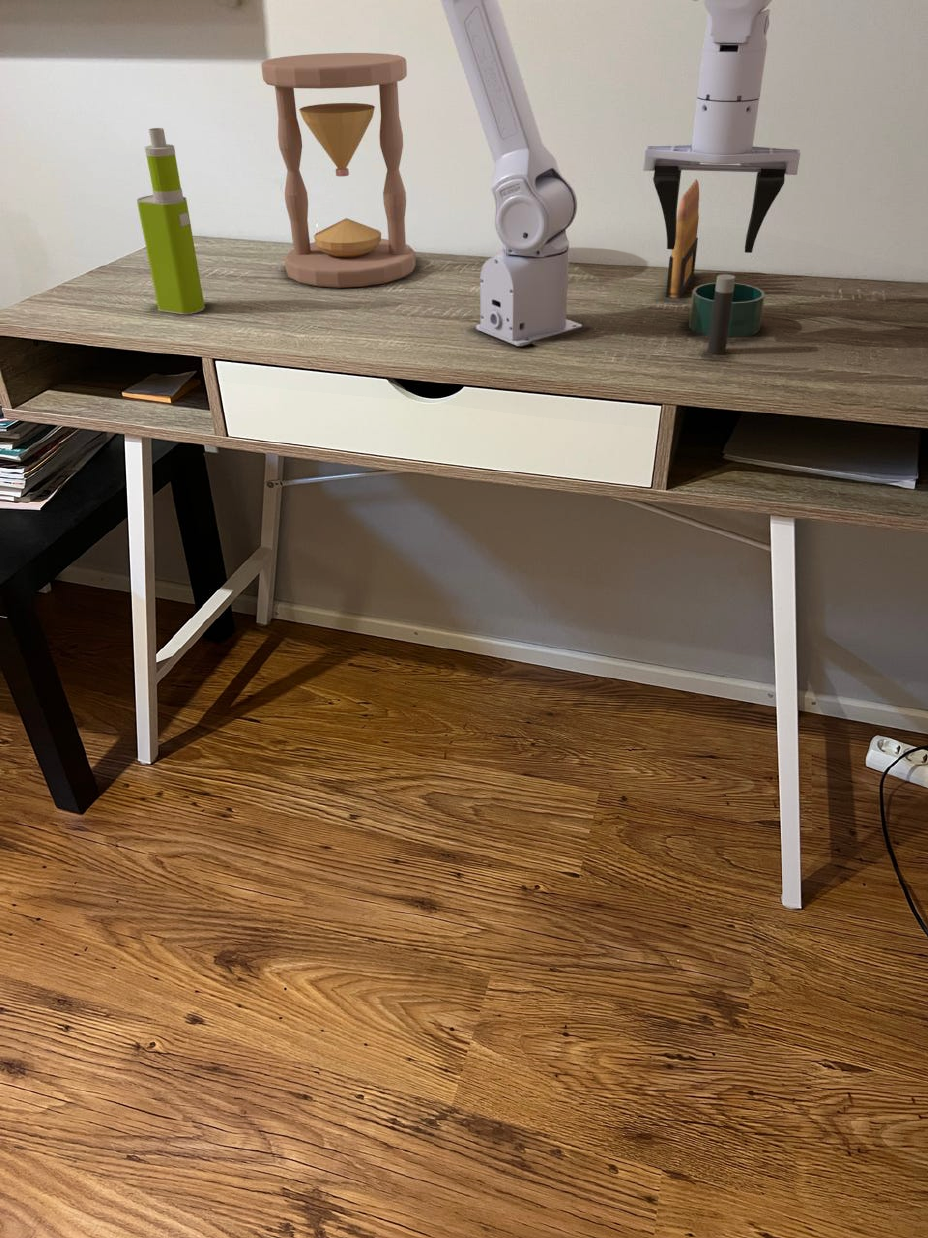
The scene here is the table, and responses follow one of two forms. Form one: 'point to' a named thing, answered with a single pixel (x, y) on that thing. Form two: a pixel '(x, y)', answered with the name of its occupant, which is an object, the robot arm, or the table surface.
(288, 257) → the hourglass
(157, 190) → the vape
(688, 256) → the ammunition clip
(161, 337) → the table surface
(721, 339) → the marker
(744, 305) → the pen cup
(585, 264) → the table surface
